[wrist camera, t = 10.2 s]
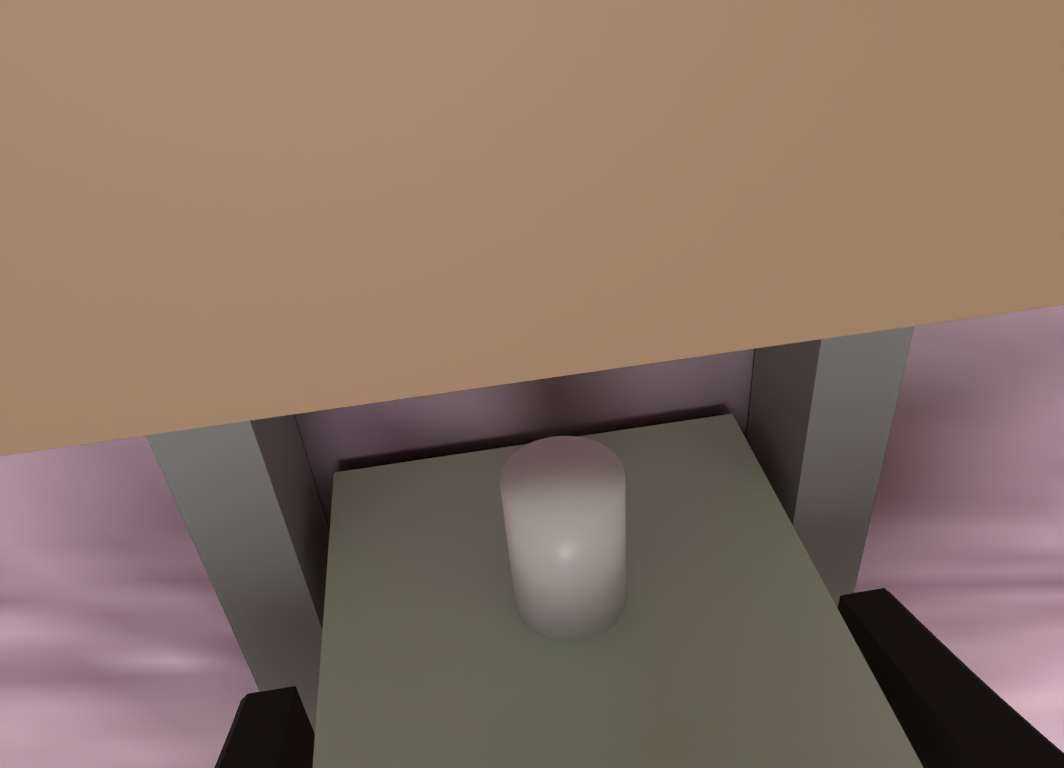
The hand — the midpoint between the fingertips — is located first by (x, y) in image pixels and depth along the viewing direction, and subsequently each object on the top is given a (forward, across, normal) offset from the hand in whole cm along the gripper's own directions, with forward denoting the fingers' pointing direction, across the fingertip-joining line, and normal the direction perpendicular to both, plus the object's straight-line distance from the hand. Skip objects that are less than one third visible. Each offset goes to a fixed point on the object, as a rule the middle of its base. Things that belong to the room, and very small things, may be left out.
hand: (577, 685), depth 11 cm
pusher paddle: (+3, 0, -2) cm, 4 cm away
